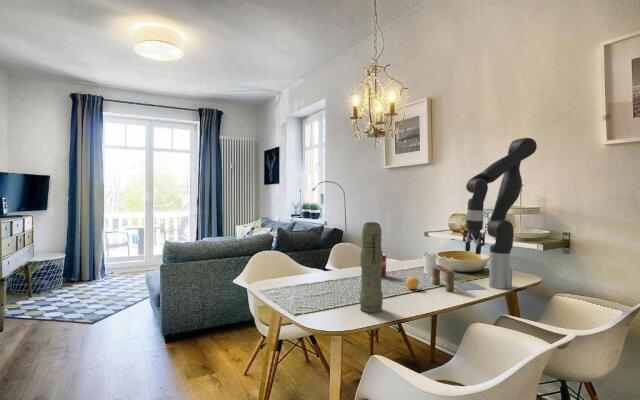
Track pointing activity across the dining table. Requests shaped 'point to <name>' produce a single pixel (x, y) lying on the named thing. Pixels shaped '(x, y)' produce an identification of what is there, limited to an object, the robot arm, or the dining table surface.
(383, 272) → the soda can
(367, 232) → the thermos
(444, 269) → the bridge
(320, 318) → the dining table surface
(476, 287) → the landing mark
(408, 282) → the ball
